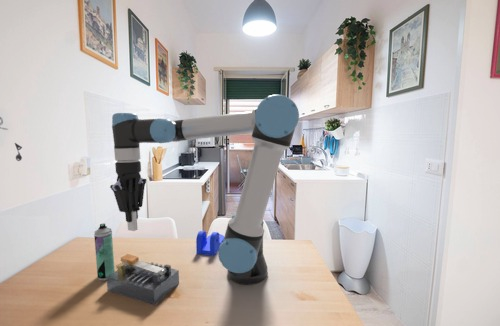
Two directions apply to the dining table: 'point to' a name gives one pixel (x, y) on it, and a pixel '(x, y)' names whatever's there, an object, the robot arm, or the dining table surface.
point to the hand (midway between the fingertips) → (132, 229)
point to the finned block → (142, 283)
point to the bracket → (208, 243)
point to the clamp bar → (142, 265)
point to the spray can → (104, 252)
